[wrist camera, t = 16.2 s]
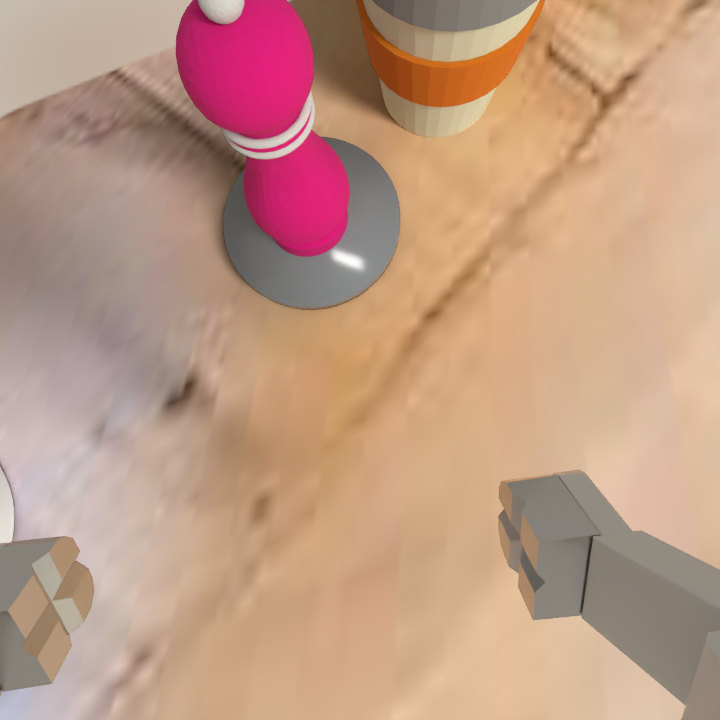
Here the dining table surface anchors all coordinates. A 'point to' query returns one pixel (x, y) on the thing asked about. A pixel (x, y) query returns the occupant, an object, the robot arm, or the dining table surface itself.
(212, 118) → the pepper mill
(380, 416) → the dining table surface
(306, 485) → the dining table surface
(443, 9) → the reusable coffee cup
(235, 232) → the plate
